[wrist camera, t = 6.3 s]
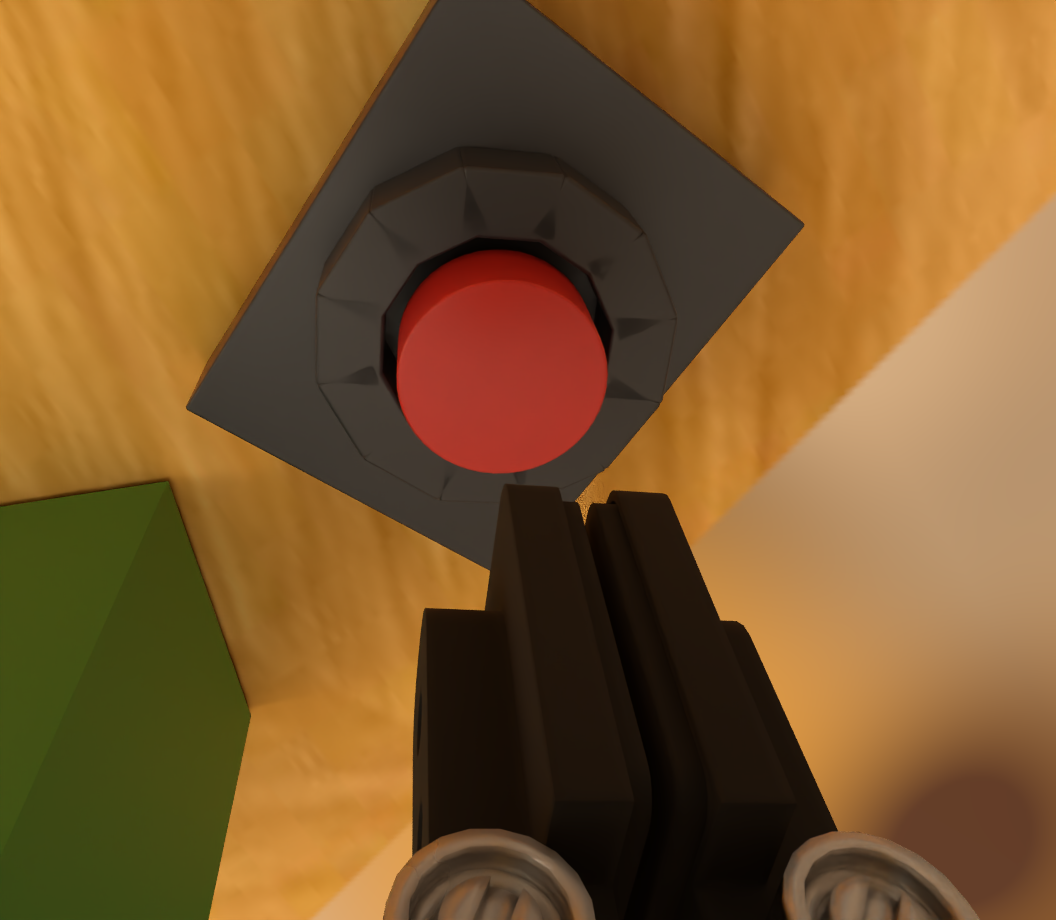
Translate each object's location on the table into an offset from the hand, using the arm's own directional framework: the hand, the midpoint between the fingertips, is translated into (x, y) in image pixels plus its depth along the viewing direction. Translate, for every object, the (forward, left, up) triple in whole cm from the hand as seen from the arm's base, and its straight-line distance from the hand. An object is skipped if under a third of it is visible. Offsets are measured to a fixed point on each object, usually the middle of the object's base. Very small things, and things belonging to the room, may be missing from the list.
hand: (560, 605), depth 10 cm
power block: (0, 0, -12) cm, 12 cm away
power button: (0, 0, -9) cm, 9 cm away
